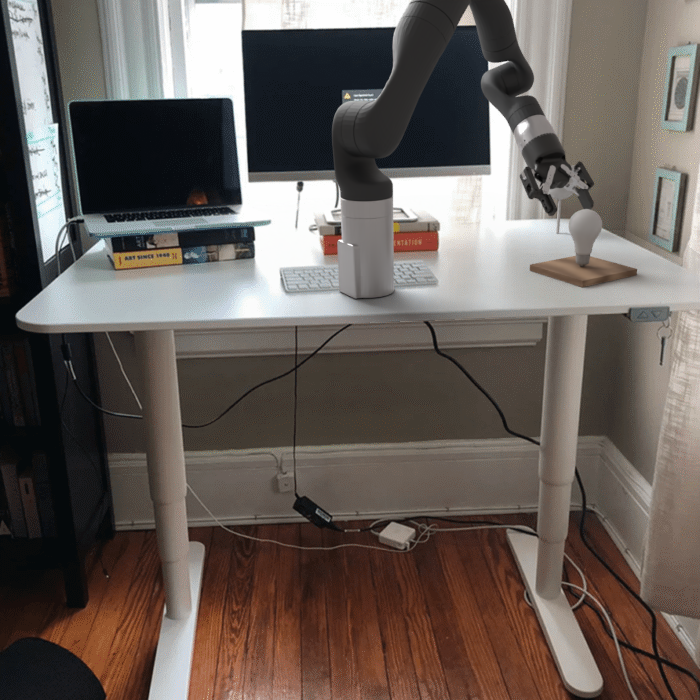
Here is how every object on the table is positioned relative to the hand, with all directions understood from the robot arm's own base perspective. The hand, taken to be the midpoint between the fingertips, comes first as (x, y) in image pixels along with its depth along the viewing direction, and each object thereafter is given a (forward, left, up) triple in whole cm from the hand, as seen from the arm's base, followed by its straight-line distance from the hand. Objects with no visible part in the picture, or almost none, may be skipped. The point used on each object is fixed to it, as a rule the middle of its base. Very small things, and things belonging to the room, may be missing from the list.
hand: (572, 211), depth 152 cm
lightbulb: (0, -4, -10) cm, 11 cm away
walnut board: (0, -4, -11) cm, 12 cm away
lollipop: (+20, +24, -11) cm, 33 cm away
